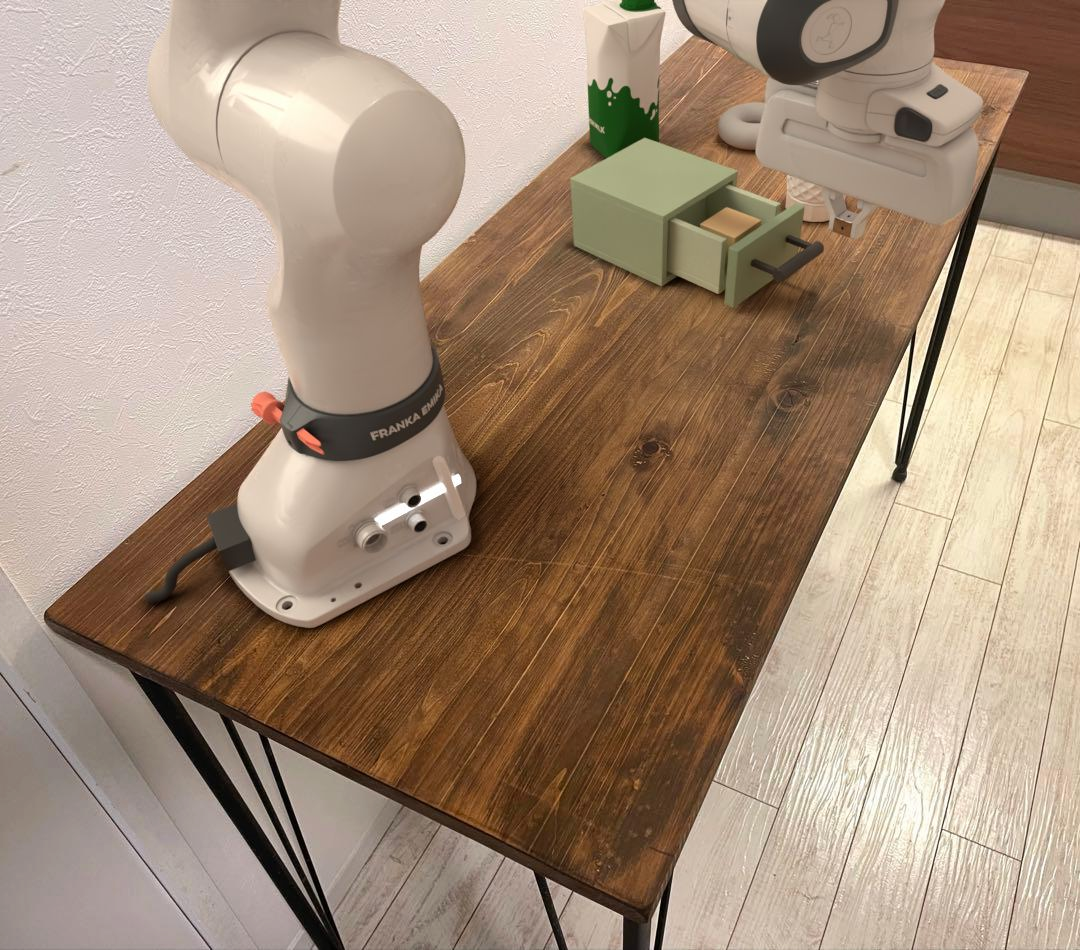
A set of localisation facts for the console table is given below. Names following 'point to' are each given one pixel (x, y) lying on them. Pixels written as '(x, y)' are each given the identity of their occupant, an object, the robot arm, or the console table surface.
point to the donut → (741, 125)
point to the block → (731, 227)
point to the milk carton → (623, 72)
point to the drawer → (738, 245)
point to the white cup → (807, 199)
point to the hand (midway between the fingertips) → (845, 232)
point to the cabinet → (640, 204)
